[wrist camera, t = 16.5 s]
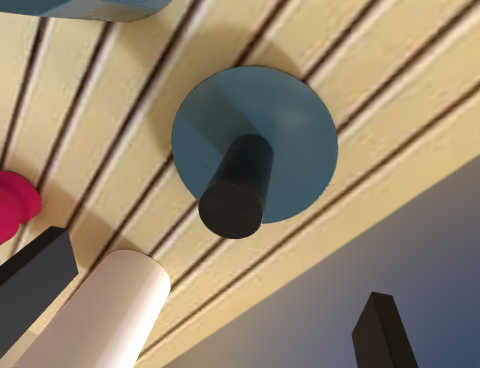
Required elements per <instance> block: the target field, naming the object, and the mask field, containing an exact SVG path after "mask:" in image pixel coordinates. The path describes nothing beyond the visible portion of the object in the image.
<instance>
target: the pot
mask: <svg viewBox="0 0 480 368" xmlns="http://www.w3.org/2000/svg"><path fill="white" fill-rule="evenodd" d="M170 1H171V0H0V12H5V13H13V14H22V15H30V16H40V17H55V18H70V19H85V20H100V21H115V22H132V21H135V20H139V19H142V18H145V17H148V16H150V15H152V14H154V13H156V12H158V11H159V10H161V9H162V8H163V7H165V6H166V5H167V4H168V3H169V2H170Z"/></svg>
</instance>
